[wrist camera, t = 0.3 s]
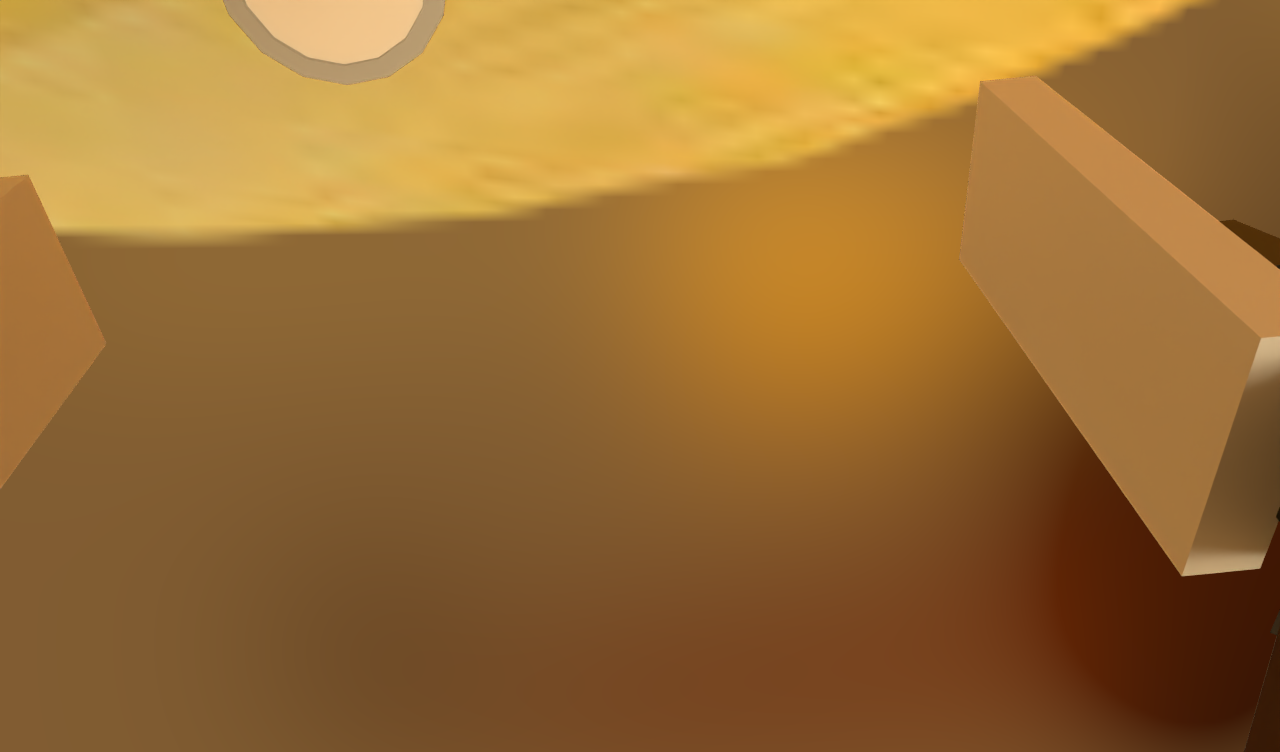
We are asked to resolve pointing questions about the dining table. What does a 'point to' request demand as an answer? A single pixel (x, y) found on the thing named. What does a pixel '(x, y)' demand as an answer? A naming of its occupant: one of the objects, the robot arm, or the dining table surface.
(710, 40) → the dining table surface
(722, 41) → the dining table surface
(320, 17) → the beige cylinder
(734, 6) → the dining table surface
